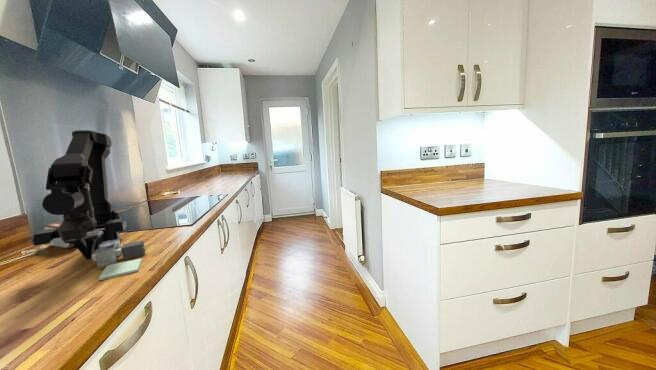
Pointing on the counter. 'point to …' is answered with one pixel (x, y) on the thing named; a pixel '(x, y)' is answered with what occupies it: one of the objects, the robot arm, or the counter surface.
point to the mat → (120, 269)
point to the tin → (57, 241)
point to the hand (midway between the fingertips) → (89, 259)
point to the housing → (107, 252)
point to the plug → (129, 250)
